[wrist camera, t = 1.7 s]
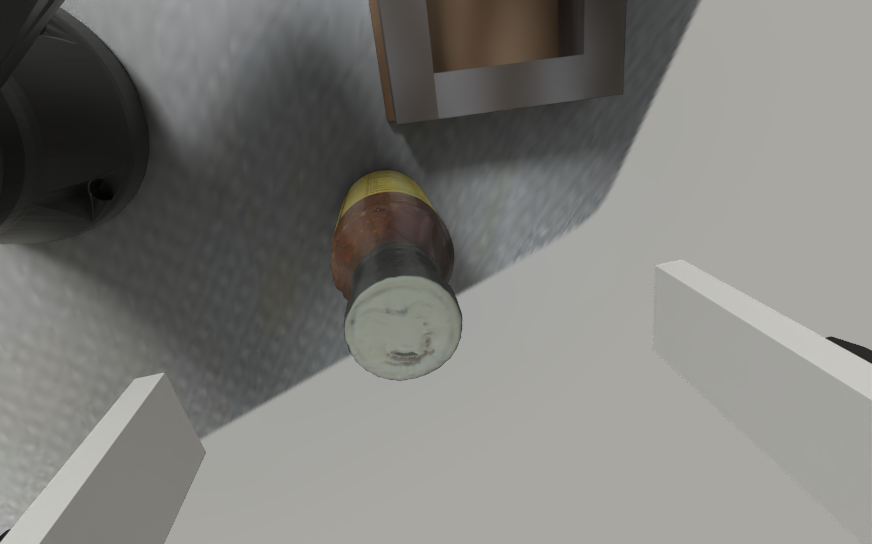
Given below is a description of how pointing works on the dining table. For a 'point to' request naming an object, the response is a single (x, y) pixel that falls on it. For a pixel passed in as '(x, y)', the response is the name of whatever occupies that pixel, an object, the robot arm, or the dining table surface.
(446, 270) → the sauce bottle
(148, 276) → the dining table surface
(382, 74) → the stand
